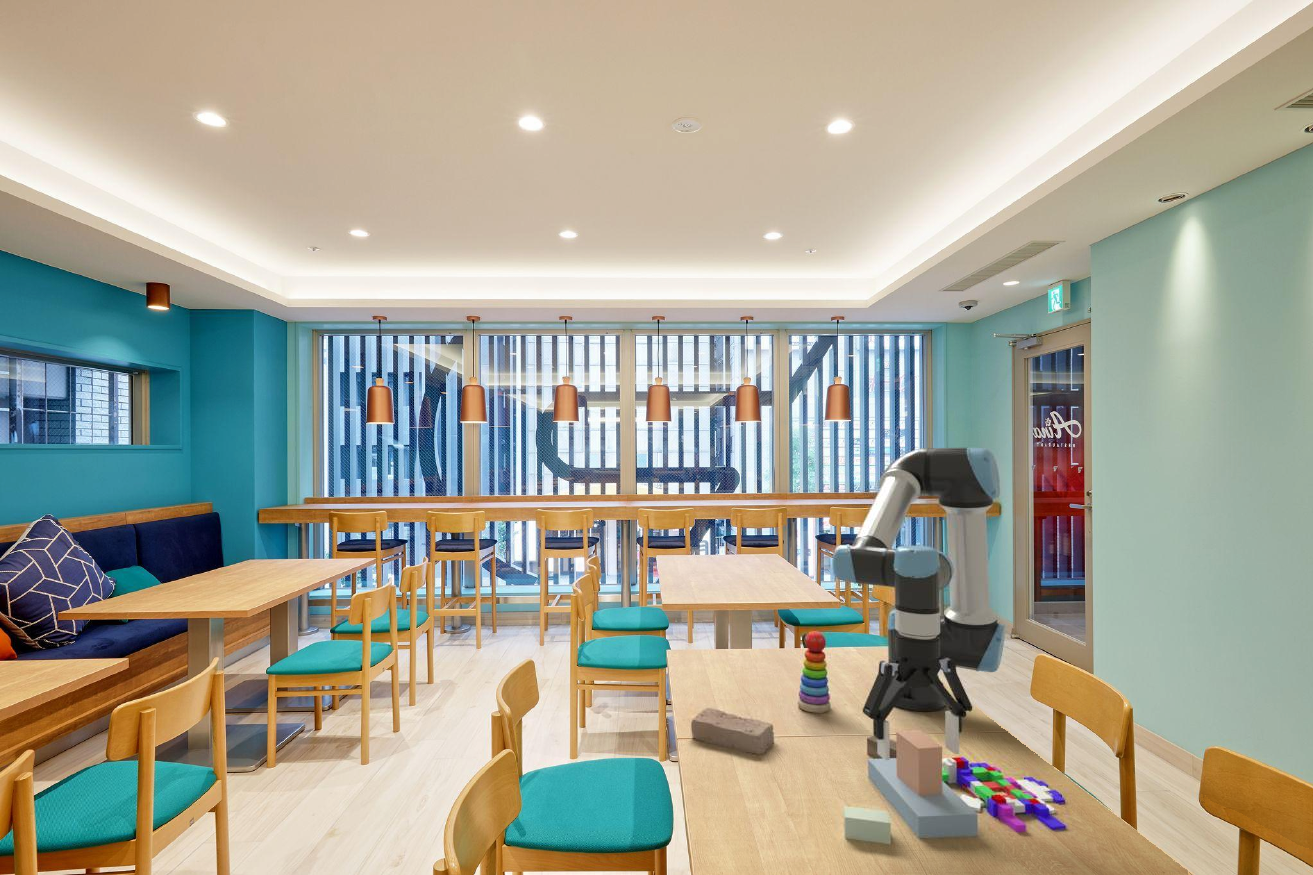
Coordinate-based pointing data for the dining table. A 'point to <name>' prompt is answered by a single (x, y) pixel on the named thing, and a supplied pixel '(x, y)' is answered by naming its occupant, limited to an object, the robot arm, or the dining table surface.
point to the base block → (923, 804)
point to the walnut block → (873, 748)
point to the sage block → (867, 825)
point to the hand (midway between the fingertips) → (918, 753)
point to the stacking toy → (814, 676)
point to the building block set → (1002, 804)
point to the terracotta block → (919, 762)
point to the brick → (732, 731)
